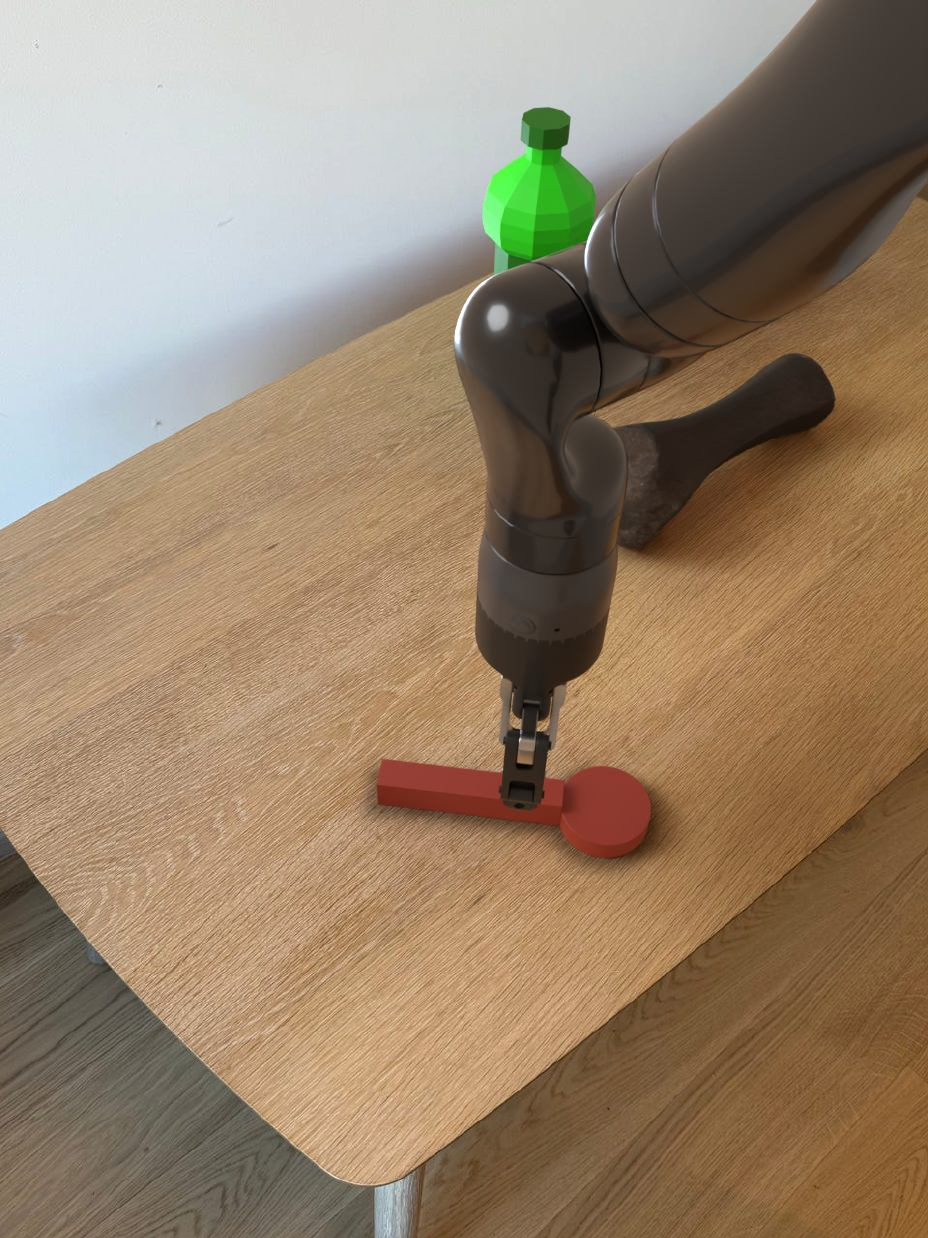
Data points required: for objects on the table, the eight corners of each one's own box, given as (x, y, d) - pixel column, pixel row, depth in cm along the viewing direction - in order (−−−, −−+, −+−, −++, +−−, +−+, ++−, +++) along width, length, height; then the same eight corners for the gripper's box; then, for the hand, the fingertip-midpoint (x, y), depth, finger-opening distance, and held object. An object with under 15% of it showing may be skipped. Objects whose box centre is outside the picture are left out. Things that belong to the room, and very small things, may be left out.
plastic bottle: (597, 359, 113) (630, 118, 95) (529, 404, 108) (549, 159, 90) (526, 319, 118) (543, 80, 99) (457, 360, 113) (461, 117, 94)
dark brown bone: (603, 575, 96) (791, 468, 111) (671, 525, 87) (866, 417, 102) (537, 471, 97) (733, 379, 112) (598, 412, 88) (802, 320, 103)
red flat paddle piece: (372, 830, 77) (370, 810, 75) (387, 754, 81) (386, 734, 79) (646, 863, 76) (652, 844, 74) (648, 784, 80) (653, 765, 78)
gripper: (606, 695, 56) (575, 850, 68) (617, 503, 65) (588, 671, 77) (460, 678, 56) (456, 835, 69) (491, 490, 66) (482, 659, 78)
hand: (526, 748), depth 73 cm, fingers open, 8 cm apart
